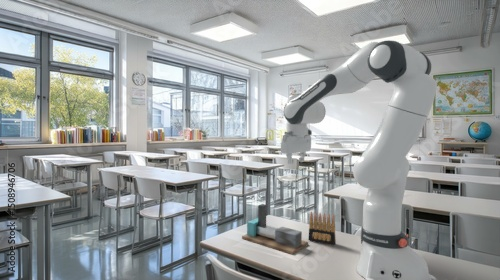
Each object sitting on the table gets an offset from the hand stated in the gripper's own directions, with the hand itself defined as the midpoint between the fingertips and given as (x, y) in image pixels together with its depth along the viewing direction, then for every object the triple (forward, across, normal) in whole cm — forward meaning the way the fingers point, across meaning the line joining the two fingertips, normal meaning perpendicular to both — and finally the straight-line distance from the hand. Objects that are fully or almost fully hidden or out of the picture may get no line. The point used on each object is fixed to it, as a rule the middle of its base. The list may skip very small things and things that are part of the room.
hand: (296, 162), depth 129 cm
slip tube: (+29, -15, +5) cm, 33 cm away
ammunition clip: (+31, -3, -14) cm, 35 cm away
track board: (+31, -15, +1) cm, 35 cm away
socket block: (+31, -15, +11) cm, 36 cm away
